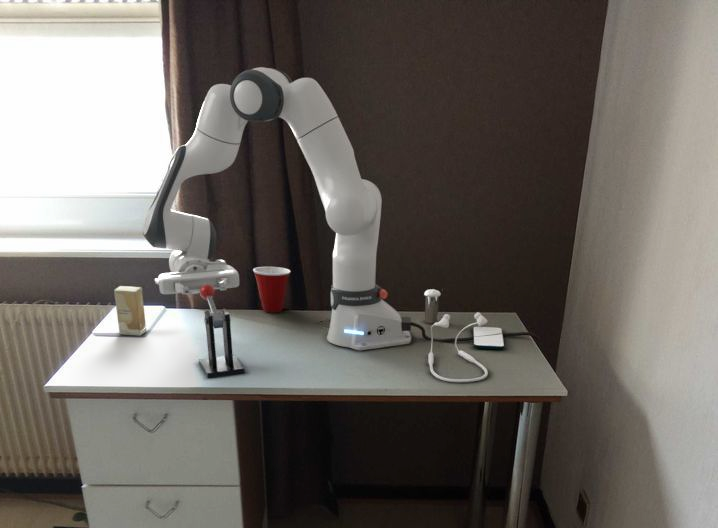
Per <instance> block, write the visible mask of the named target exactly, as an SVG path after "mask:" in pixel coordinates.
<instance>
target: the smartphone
mask: <svg viewBox="0 0 718 528" xmlns="http://www.w3.org/2000/svg"><path fill="white" fill-rule="evenodd" d="M500 333H503V329H502V327H496V326H495V327H493V326H492V327H491V326H473V327H472V337H474V338H473V340H472V342H473V347H474V348H475V349H489V350H504V349H505V341H504V336H503V334H500ZM493 334H498V335H493ZM485 335H490V336H485ZM476 336H479V337H476Z"/></svg>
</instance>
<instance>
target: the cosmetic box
mask: <svg viewBox="0 0 718 528" xmlns="http://www.w3.org/2000/svg"><path fill="white" fill-rule="evenodd" d="M113 293H114V300H115V308H116V316H117V317H116V318H117V325H118V331H119V335H125V336H126V335H127V336H138V337H141V336H142V335H144V334H145V333H147V323H146V316H145V306H144V297H143V296H144V295H143V287H142V286H141V287H140V286H130V285H129V286H128V285H127V286H126V285H119V286H118V287H116V288H115V289H114V290H113ZM145 327H146V328H145ZM144 328H145V329H144ZM143 329H144V330H143ZM142 330H143V331H142ZM141 331H142V332H141Z"/></svg>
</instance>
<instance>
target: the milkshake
mask: <svg viewBox="0 0 718 528" xmlns="http://www.w3.org/2000/svg"><path fill="white" fill-rule="evenodd" d="M444 289H445V288H444V287H443V288H442V291H441V292H440V291H439V290H437V289H434V288H432V289H431V288H430V289H426V290H425V291H424V293H423V296H424V298H423V299H424V323H426V324H431V325H434V323H436V322H438V315H439V314H438V313H439V307H440V300H441V294H442V292H443V290H444Z"/></svg>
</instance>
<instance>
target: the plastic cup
mask: <svg viewBox="0 0 718 528" xmlns="http://www.w3.org/2000/svg"><path fill="white" fill-rule="evenodd" d="M252 271H253V273H254V277H255V279H256V280H255V281H256V284H257V289H258V294H259V299H260V302H261V306H262V310H263V311H264V312H266V313H280V312H282V311H284V304H285V298H286V290H287V284H288V283H287V282H288V279H289V276H290V273H291V270H290V269H288V268H285V267H281V266H280V267H279V266H258V267H254V268H253V269H252Z"/></svg>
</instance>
